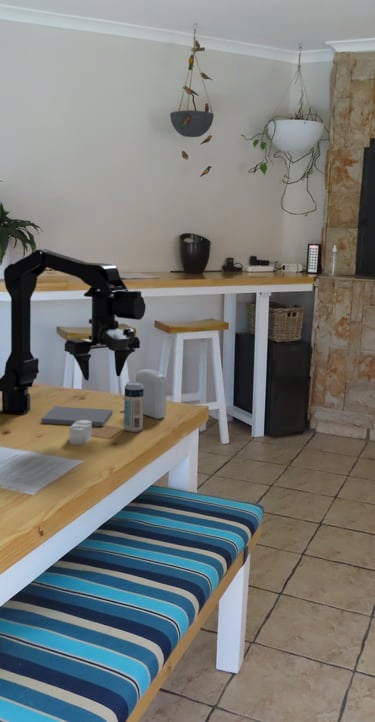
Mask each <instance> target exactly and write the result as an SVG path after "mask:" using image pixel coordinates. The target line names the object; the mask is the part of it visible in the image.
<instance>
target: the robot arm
mask: <svg viewBox="0 0 375 722" xmlns="http://www.w3.org/2000/svg"><path fill="white" fill-rule="evenodd" d="M46 269H51V270H54V271H57V272H60V273H63V274H66V275H69V276H73V277H75V278H78V279H80V280H81V282H83V283H84V284H85V285H88V286H89V287H90V288H89V289H88V290H87V291H86V292H85V293H84V294H83V296H84V297H87V298H88V297H89V298H91V318H89V319H88V324H89V325H90V324H91V335H88V340H89V341H88V340H85V339H81V338H74V339H73V338H72V339H67V340H66V341H65V343H64V352H66V353H68V354H69V355H71V356H73V357H74V359H75V361H76V362H77V364H78V367H79V369H80V371H81V374H82V376H83V378H84V380H85V381H89V380H90V359H91V357H92V354H90V352H91V350H94V349H95V350H96V349H104V348H107V349H108V350H109V351H112V352H113V353H114V367H115V369H114V370H115V374H116V377H120V376H121V375H122V372H123V370H124V366H125V364H126V361H127V359H128V357H130V355H131V354H132V353H135V351H136V349H140V348H141V341H140V338H139V337H138V336H136V335H135V330H134V329H133V328H125V329H120V327H119V320H116V317H117V318H119V319H127V320H128V319H129V320H135V321H136V320H138V321H139V320H142V319H143V317H144V315H145V313H146V303H145V299H144V297H143V296H142V291H141V290H133V291H132V290H129V288H127V286H126V283H124V281H123V279H122V277H121V276H120V272H119V270H118V267H117V266H116V265H114V264H110V263H101V262H100V263H99V262H86V261H83V260H80V259H78V258H74V257H70V256H67V255H64V254H61V253H58V252H55V251H51V249H47V248H46V249H42V248H41V249H36V250H34V251H33V252H32V253H30V254H28V255H27V256H25V257H24V258H23V257H22V258H21V259H20V260H18V261H15V262H14V263H10V264H8V265H7V266H6V267H5V268H4V271H3V278H4V285H5V286H4V287H5V289H6V291H7V292H8V294H9V296H10V311H11V312H10V315H11V316H10V318H11V319H10V324H11V325H10V331H11V332H10V333H11V335H10V337H11V338H10V339H11V340H10V344H11V346H10V353H9V356H8V358H7V359H6V362H5V366H4V373H3V375H2V376H1V377H0V392H1V407H2V408H1V410H0V414H6V415H7V414H9V415H11V414H12V415H25V414H26V413H28V411H29V410H31V394H30V393H29V388H32V387H33V383H34V381H35V380H36V379H37V376H38V374H39V373H40V370H39V363H40V361H39V358H38V357H34V356H33V354H32V352H31V321H32V320H31V315H32V314H31V308H32V307H31V303H32V302H31V301H32V296H33V294H34V292H35V290H36V288H37V283H38V278H39V277H40V276H41V275H42V274H43V273H45V272H46Z"/></svg>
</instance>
